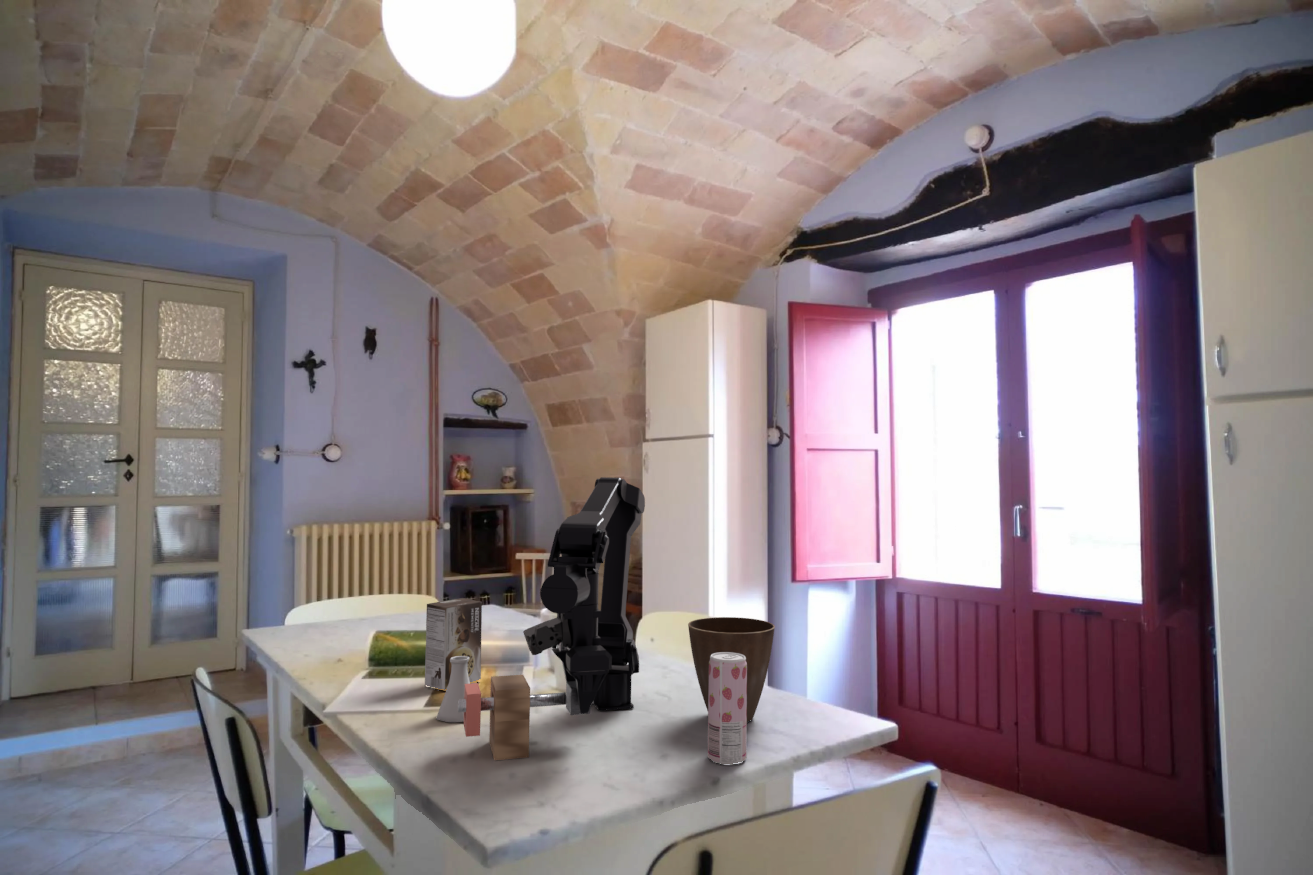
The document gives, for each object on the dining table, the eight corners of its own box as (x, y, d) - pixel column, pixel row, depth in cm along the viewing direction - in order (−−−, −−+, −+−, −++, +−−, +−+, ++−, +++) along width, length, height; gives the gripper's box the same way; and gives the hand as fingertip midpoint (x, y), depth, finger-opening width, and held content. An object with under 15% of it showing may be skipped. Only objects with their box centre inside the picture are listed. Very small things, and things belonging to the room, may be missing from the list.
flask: (468, 725, 128) (470, 664, 129) (428, 722, 130) (429, 661, 130) (486, 712, 135) (488, 654, 136) (448, 709, 137) (449, 651, 137)
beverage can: (748, 753, 117) (749, 652, 117) (743, 767, 111) (744, 661, 112) (710, 750, 118) (712, 650, 119) (704, 763, 112) (705, 658, 113)
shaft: (584, 706, 123) (585, 680, 123) (590, 713, 119) (590, 687, 119) (457, 715, 117) (458, 688, 117) (458, 723, 113) (459, 695, 113)
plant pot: (675, 725, 130) (676, 628, 131) (701, 701, 144) (702, 613, 144) (763, 736, 125) (764, 635, 125) (781, 710, 139) (782, 620, 139)
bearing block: (521, 739, 122) (523, 674, 122) (528, 757, 114) (530, 688, 115) (489, 741, 120) (490, 676, 121) (494, 760, 113) (495, 690, 113)
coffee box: (460, 677, 158) (462, 597, 159) (481, 682, 154) (483, 600, 155) (422, 686, 151) (425, 602, 151) (444, 692, 147) (447, 606, 148)
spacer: (477, 722, 119) (478, 682, 119) (480, 735, 113) (481, 693, 113) (463, 723, 118) (464, 683, 119) (465, 736, 113) (467, 694, 113)
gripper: (520, 595, 128) (518, 691, 127) (537, 615, 110) (534, 727, 109) (586, 592, 131) (585, 686, 130) (613, 612, 113) (611, 720, 113)
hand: (578, 703), depth 121 cm, fingers open, 9 cm apart
